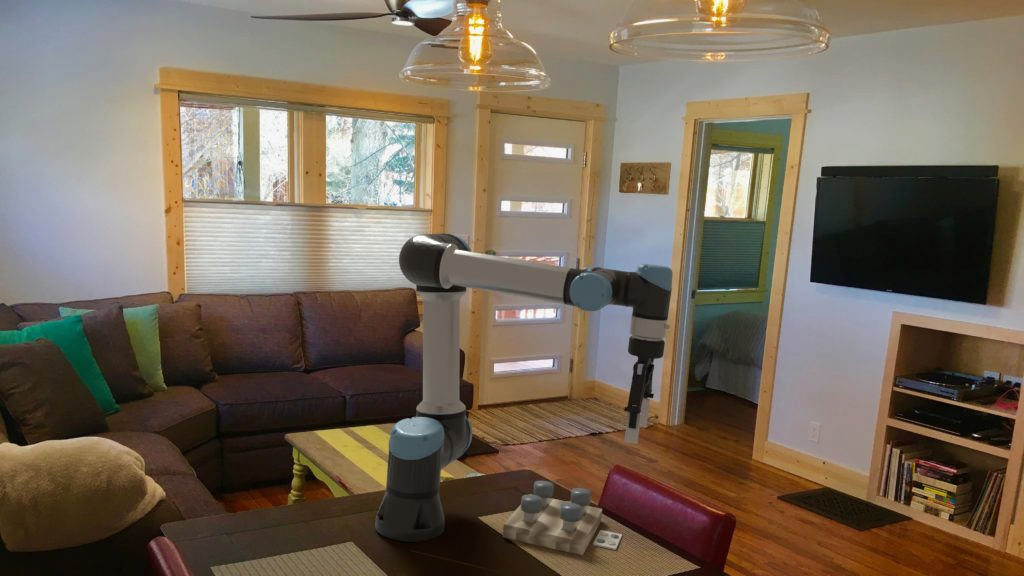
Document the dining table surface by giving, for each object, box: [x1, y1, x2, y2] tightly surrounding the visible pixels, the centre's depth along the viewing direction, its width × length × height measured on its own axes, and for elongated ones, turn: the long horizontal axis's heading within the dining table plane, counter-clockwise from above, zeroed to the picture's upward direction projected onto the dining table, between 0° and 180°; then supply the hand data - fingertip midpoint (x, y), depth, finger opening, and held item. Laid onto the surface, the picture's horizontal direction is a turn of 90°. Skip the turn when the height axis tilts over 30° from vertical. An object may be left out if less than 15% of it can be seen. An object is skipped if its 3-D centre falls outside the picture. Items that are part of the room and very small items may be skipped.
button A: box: [520, 494, 542, 524], centre depth 167 cm, size 5×5×6 cm
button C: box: [560, 503, 582, 532], centre depth 165 cm, size 5×5×6 cm
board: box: [502, 493, 603, 556], centre depth 171 cm, size 18×20×3 cm
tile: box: [592, 529, 623, 551], centre depth 167 cm, size 5×8×1 cm, turn 162°
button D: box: [569, 487, 592, 516], centre depth 174 cm, size 5×5×6 cm
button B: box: [533, 480, 555, 508], centre depth 177 cm, size 5×5×6 cm
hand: (635, 434), depth 162 cm, fingers open, 13 cm apart
